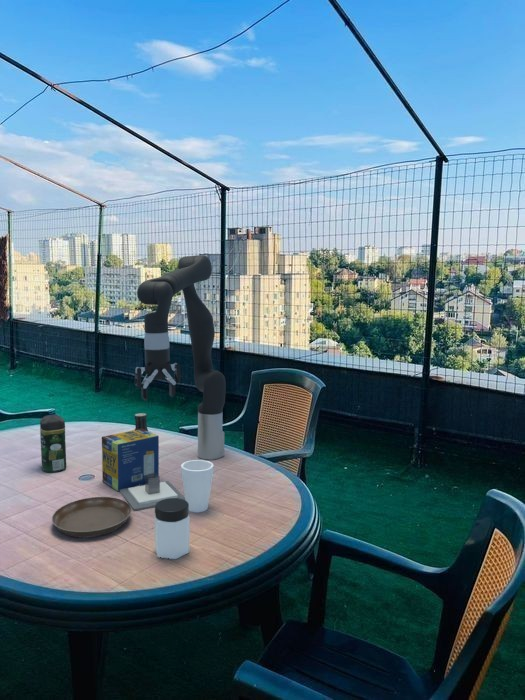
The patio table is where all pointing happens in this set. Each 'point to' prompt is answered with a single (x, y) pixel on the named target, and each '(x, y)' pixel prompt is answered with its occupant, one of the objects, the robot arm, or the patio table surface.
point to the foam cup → (197, 483)
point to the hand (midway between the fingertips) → (158, 398)
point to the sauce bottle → (141, 421)
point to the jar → (172, 528)
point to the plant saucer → (91, 516)
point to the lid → (152, 490)
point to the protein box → (129, 458)
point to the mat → (136, 507)
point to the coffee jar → (53, 443)
